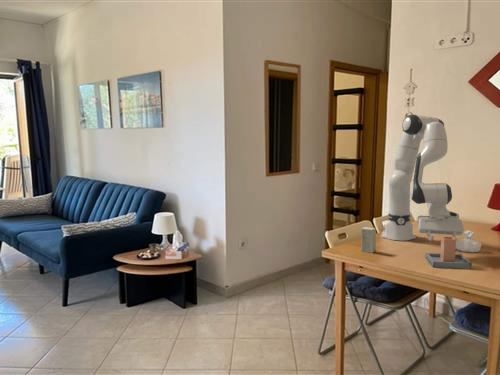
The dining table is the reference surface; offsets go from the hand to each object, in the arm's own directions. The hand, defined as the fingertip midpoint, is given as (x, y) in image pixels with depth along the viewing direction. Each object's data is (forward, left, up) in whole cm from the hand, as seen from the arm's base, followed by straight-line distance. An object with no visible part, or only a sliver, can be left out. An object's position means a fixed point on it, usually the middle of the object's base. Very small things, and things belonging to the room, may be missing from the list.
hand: (442, 240), depth 190 cm
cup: (+5, +1, -8) cm, 10 cm away
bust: (-18, +17, -9) cm, 26 cm away
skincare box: (-10, -33, -9) cm, 35 cm away
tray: (+5, +1, -9) cm, 11 cm away
